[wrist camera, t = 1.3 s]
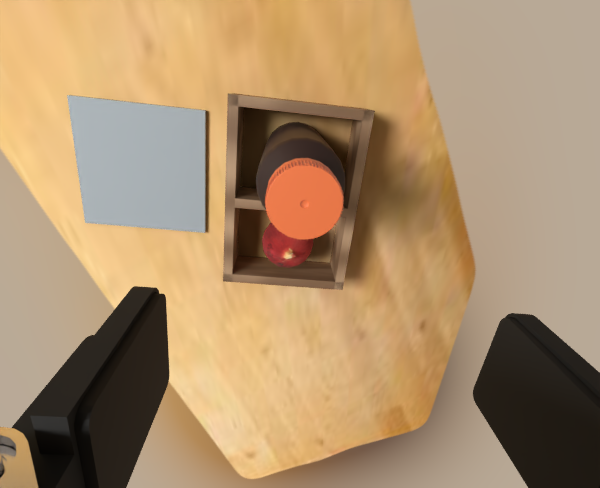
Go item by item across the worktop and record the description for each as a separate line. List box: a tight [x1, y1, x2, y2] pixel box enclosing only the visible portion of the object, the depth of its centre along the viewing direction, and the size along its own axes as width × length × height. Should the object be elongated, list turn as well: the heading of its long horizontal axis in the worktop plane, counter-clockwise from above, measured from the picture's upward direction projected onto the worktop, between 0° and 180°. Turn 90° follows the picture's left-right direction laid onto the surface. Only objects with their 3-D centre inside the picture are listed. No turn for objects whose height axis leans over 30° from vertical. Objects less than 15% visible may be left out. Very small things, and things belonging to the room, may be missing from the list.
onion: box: [262, 223, 313, 268], centre depth 40 cm, size 6×6×8 cm
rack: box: [223, 94, 375, 290], centre depth 39 cm, size 20×14×5 cm
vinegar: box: [256, 122, 345, 240], centre depth 31 cm, size 7×7×20 cm
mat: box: [67, 95, 206, 233], centre depth 39 cm, size 14×14×1 cm
